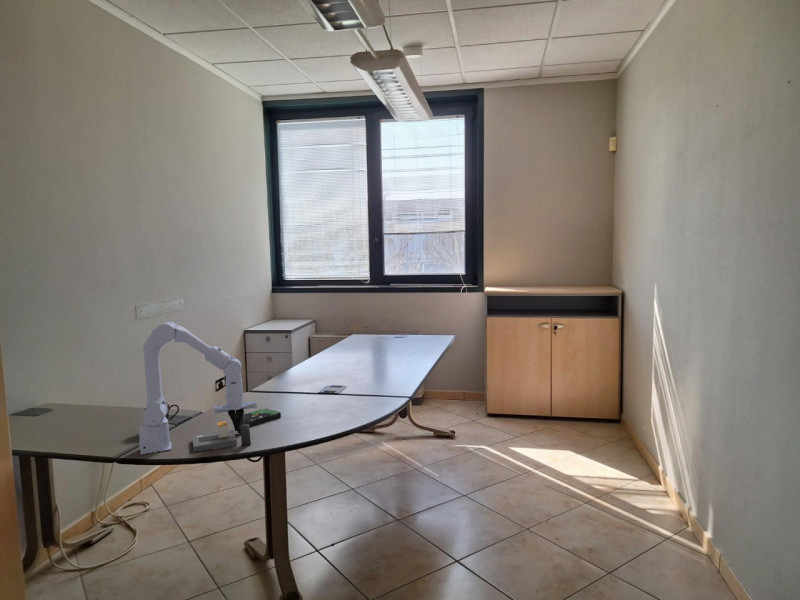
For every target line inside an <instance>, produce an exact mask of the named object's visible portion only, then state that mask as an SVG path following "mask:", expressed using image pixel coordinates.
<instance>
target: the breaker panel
mask: <svg viewBox="0 0 800 600" xmlns="http://www.w3.org/2000/svg"><path fill="white" fill-rule="evenodd" d="M227 430H228V429H227ZM191 437H192V446H193V447H192V448H193V452H194V451H200V452H203V451H202V450H206V451H210V450H209V449H212V450H216V449H215V448H219V449H222V448H221V447H225V448H228V447H227V446H231V447H233V446H232V445H237V446H238V439H237V437H236V433H235V430H234V429H229V430H228V437H223V438H219V436H218V431H216V432H210V433H203V434H195V435H192V436H191Z"/></svg>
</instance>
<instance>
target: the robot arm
mask: <svg viewBox="0 0 800 600" xmlns="http://www.w3.org/2000/svg"><path fill="white" fill-rule="evenodd" d="M171 341H173V342H174V343H185V344H186V345H188V346H190V347H191V348H193V349H195V350H197V351H198V352H200V353H201V354H203V356H204V359H205V360H206V361H207V362H209V363H210V364H211V365H213V366H215V367H216V368H218V369H219V370H222V371H223V374H224V375H225V381H224V383H225V396H226V397H225V398H226V399H225V400H226V404H223V405H220V406H214V407H213V414H214V415H217V414H219V413H226V412H227V415H228V416H229V418H230V420H231V421H232V424H233V427H234V428H233V430H234V432H237V431H239V427H240V422H241V419H242V417H243V414H245V410H247V409H248V410H249V409H258V402H257V401H248V402H247V401H246V402H244V387H243V385H244V384H243V378H242V362H241V361H240V360H239V359H238V358H237V357H234V356H233V355H232V354H229V353H227V352H226V351H224V350H223V348H222V347H221V346H219V347H218V346H217V345H214V346H213V345H211V346H210V345H209V344H207V343H206V342H204V341H203V340H202V339H200V338H199V337H197V336H196V335H195V334H193V332H192V331H191V332H190V331H189V330H188V329H186V328H185V327H183V326H182V325H180V324H179V325H178V323H176V322H174V321H172V320H166V321H164V322H163V323H162V322H161V324H159V325H158V326H157V327H155V328H153V330H152V331H151V333H150V335H148V338H147V339H146V341H145V342H144V345H143V347H142V348H143V358H144V359H143V360H144V373H145V386H146V387H145V388H146V401H145V402H146V403H145V406H146V411H145V410H144V413H143V421H144V422H145V424H144V425H143V424H142V425H139V427H138V436H139V444H138V445H139V449H140V455H146V453H148V454H152V452H154V453H158V452H157V451H160V452H165V451H164V450H166V451H170V450H172V441H171V439H170V427H169V422H168V420H169V419H167V418H166V417H165V416H166V414H167V413H168V406H167V405H166V403H165V402H166V401H165V396H164V394H163V393H164V392H163V381H162V365H161V364H162V363H161V352H160V351H161V349H162V347H163V346H165V345H166V344H168V343H169V342H171Z"/></svg>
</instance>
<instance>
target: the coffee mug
mask: <svg viewBox="0 0 800 600" xmlns="http://www.w3.org/2000/svg"><path fill="white" fill-rule="evenodd" d="M165 403H166V405H167V406H168V413H167V414H166V416H165V417H166V418H167V419H168V423H169V422H170V421H171V420H172V419H173V418H174V417H175V416H177V414H178V413H179V411H180V407H179V406H178V405H177V404H171V405H170V402H168V401H165ZM173 407H176V408H177V410H176V412H175V413H174V414H173V415H172V416H171V417H169V416H170V415H169V414H170V410H171V408H173ZM145 411H146V405H144V412H145Z"/></svg>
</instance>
